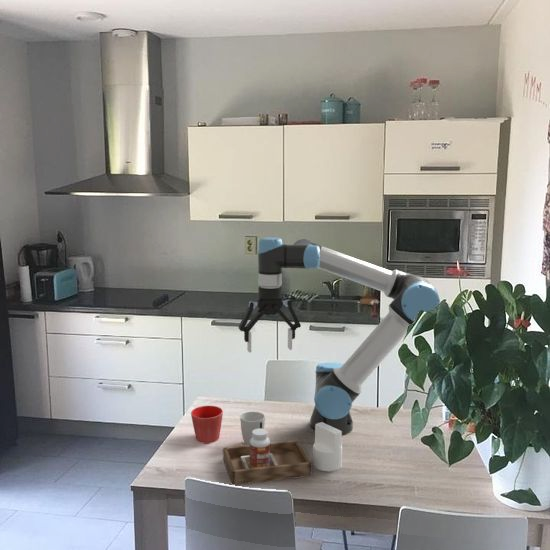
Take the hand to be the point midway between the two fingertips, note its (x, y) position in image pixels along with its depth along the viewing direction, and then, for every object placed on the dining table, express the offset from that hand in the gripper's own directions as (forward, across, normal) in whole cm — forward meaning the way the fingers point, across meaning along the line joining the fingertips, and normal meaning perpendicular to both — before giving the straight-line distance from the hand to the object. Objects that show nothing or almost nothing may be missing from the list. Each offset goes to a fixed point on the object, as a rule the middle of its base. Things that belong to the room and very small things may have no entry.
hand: (269, 349), depth 201 cm
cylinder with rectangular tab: (+32, -14, +20) cm, 40 cm away
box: (+32, +5, +18) cm, 37 cm away
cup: (+32, +6, +2) cm, 33 cm away
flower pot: (+32, +20, -6) cm, 38 cm away
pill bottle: (+31, +7, +18) cm, 36 cm away
